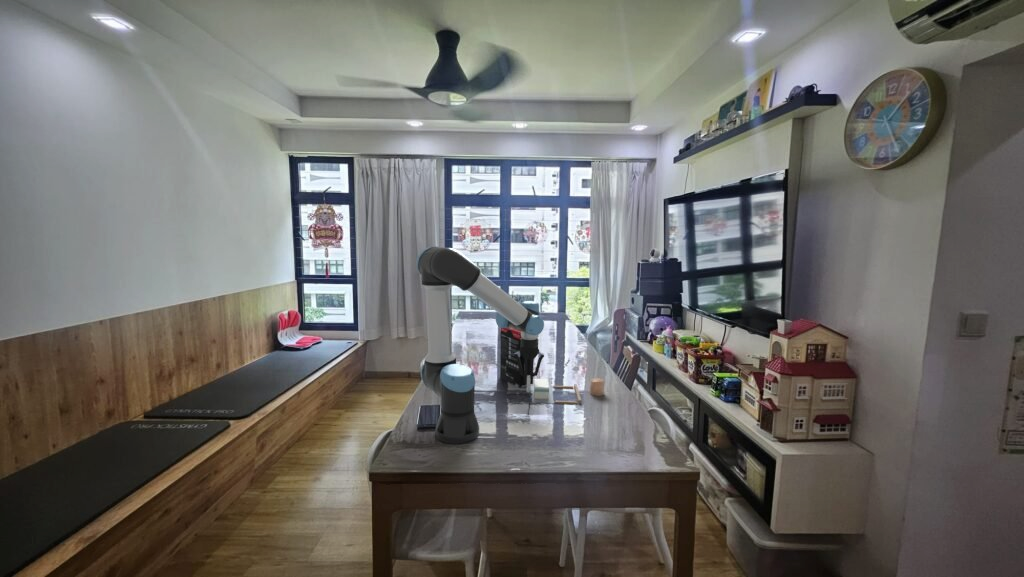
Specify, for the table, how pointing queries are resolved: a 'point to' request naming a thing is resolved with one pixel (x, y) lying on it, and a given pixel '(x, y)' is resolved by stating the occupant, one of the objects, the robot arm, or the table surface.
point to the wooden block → (597, 387)
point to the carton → (541, 389)
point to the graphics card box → (512, 357)
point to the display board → (552, 396)
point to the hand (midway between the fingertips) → (528, 390)
